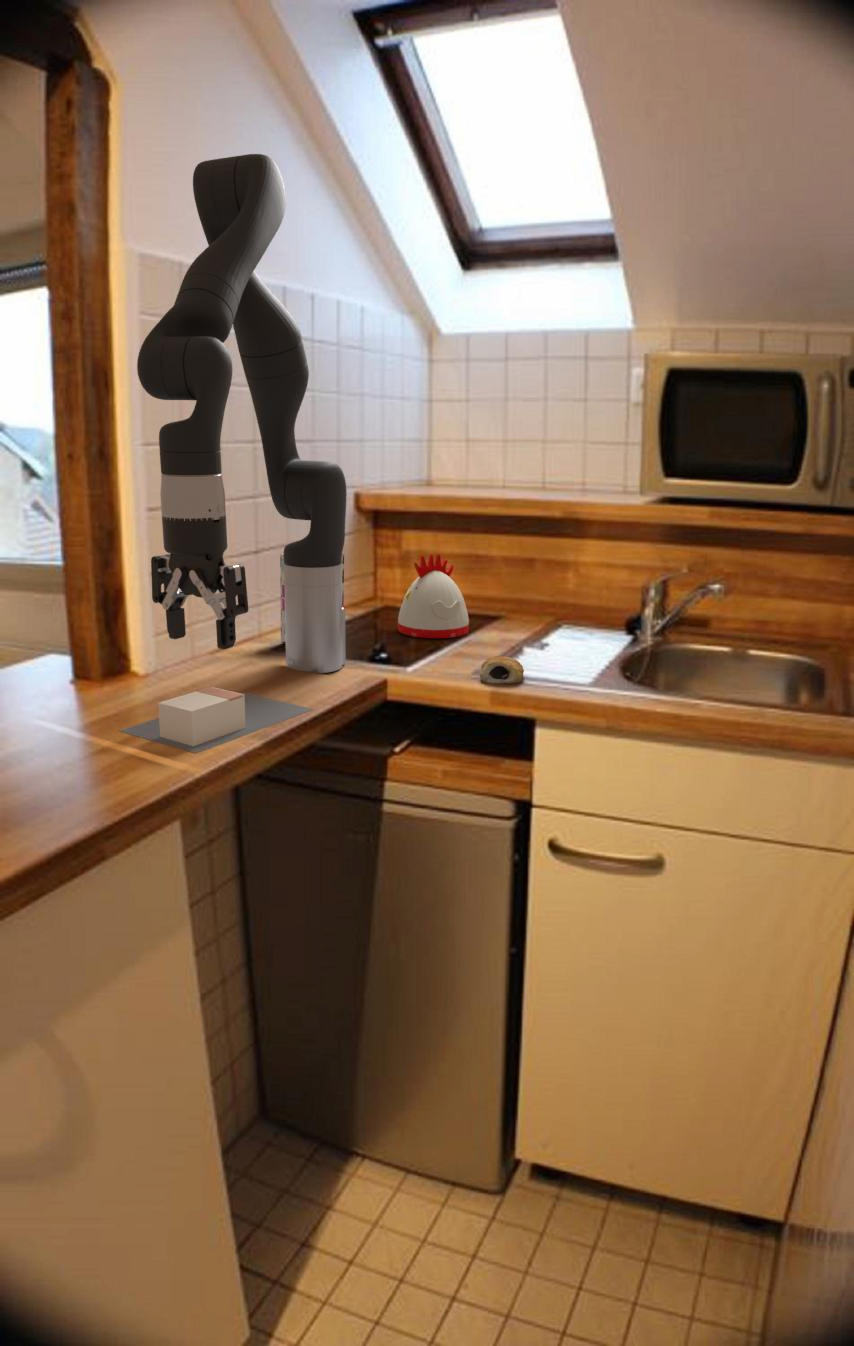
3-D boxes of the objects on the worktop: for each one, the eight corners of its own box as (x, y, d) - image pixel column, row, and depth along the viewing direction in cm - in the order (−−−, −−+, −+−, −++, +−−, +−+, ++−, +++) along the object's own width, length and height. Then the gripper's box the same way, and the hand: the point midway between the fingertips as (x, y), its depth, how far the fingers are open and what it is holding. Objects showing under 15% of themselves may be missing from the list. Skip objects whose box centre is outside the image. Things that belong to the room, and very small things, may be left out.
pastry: (487, 669, 156) (488, 646, 155) (527, 672, 154) (528, 650, 153) (478, 683, 147) (479, 660, 146) (520, 687, 146) (522, 663, 145)
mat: (241, 695, 137) (240, 691, 137) (314, 713, 130) (314, 709, 130) (119, 735, 120) (118, 730, 119) (195, 757, 112) (195, 753, 112)
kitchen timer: (387, 625, 186) (387, 550, 182) (448, 620, 192) (450, 548, 188) (415, 640, 174) (417, 560, 170) (480, 635, 180) (483, 557, 176)
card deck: (160, 736, 118) (157, 702, 116) (212, 719, 125) (211, 686, 124) (193, 746, 114) (191, 711, 113) (245, 727, 122) (244, 694, 120)
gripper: (129, 510, 113) (139, 640, 117) (213, 519, 105) (220, 658, 110) (176, 505, 119) (184, 629, 123) (259, 513, 111) (264, 645, 116)
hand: (201, 642), depth 117 cm, fingers open, 8 cm apart
